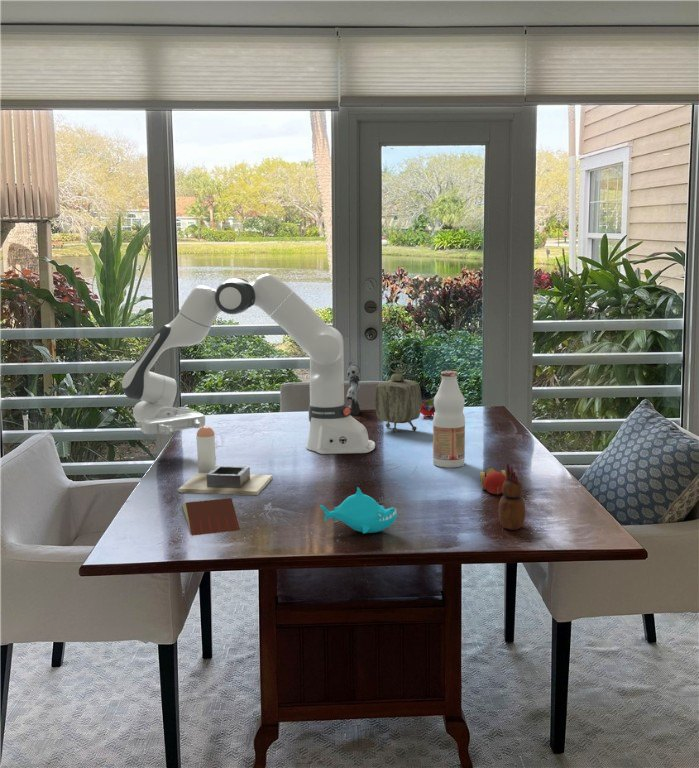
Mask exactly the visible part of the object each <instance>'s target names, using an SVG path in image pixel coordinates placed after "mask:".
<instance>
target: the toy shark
mask: <svg viewBox="0 0 699 768" xmlns="http://www.w3.org/2000/svg"><path fill="white" fill-rule="evenodd" d="M319 507H320V508H321V509H322V511H323V512H324V519H323V521H324V522H326V521H327V520H328V519H333V521H337V520H338V521H340V522H342V523H343V524H345V525H346V526H348V527H349V528H351V529H352V530H354V531H356V532H360V533H362V534H372V533H374V534H375V533H378V532H381V531H384V530H385V529H387V528H389V527H390V526H392V525H393V524H394V523H395V521H396V519H397V518H398V513H397V507H395V506H393V507H392V506H391V507H390V508H385V506H384V505H380V504H379V502H377V501H376V499H374V498H373V497H372V496H369V495H367V494H364V493H363V492H362V490H361V489H360V487H358V486H357V487H356V493H354V494H352V495H350V496H347V497H346V498H345V499H344V500H343V501H342V502H341V503H340V504H339V505H338V506H334V507H333V510H328V509H327V507H326V506H325V505H322V504H320V505H319Z"/></svg>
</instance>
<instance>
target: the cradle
mask: <svg viewBox="0 0 699 768" xmlns="http://www.w3.org/2000/svg"><path fill="white" fill-rule="evenodd" d="M250 474H251V467H250V466H245V465H244V466H243V465H242V466H241V465H240V466H238V465H236V466H235V465H216V467H215V468H214V469H213V470H212V471H210V472H209V473H208V474H207V487H215V488H241V487H242V486H243V485H244V484H245V483H246V482H247V481H248V480H249V479H250Z"/></svg>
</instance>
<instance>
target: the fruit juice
mask: <svg viewBox="0 0 699 768" xmlns="http://www.w3.org/2000/svg"><path fill="white" fill-rule="evenodd" d="M440 378H441V382H440V384H439V387H438V390H437V392H436V394H435V397H434V396H433V397H434V407H435V413H434V416H433V417H432V419H433V421H432V433H433V434H432V462H433V464H434V466H435V467H439V468H445V469H446V468H449V469H451V468H452V469H453V468H454V469H455V468H459V467H462V466H464V464H465V462H466V461H465V460H466V459H465V457H466V455H465V454H466V453H465V452H466V451H465V449H466V447H465V446H466V445H465V444H466V438H465V437H466V436H465V435H466V418H465V414H464V407H465V405H466V403H465V397H464V395H463V393H462V391H461V388H460V386H459V383H458V371H455V370H443V371H441V372H440Z"/></svg>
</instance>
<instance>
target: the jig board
mask: <svg viewBox="0 0 699 768" xmlns="http://www.w3.org/2000/svg"><path fill="white" fill-rule="evenodd" d="M207 474H208V473H198V472H197V473H196V474H195V475H193V476H192V477H191V478H190V479H188V480H187V481H186V482H184V484H183V485H181V486H180V487H179V488H178V493H184V494H185V493H186V494H189V493H191V494H215V495H242V496H243V495H246V496H247V495H249V496H250V495H251V496H258V495H259V494H260V493H262V491H263V490H264V488H266V486H267V485H268V484H269V483H270V482H271V480H272V479H273V474H251V473H250V479H249V480H248V481H247V482H246V483H245V484H244V485H243V486H242V487H241V488H215V487H207Z"/></svg>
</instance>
